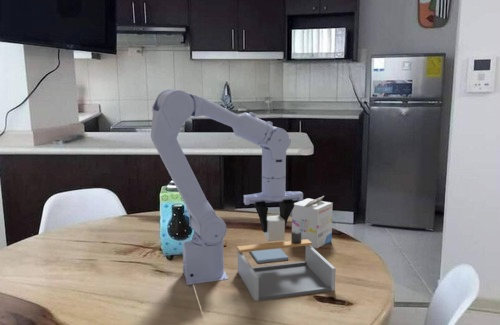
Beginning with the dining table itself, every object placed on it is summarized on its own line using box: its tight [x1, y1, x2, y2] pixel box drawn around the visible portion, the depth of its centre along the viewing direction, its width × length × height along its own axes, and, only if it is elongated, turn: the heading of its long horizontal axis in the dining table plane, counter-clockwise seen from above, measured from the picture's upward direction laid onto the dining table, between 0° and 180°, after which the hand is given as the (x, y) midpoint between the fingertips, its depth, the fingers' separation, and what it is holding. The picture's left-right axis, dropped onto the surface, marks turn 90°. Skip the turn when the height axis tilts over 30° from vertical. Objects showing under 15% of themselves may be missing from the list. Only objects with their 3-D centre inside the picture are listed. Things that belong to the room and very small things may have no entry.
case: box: [237, 245, 337, 302], centre depth 100 cm, size 18×15×6 cm
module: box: [263, 214, 286, 242], centre depth 109 cm, size 4×4×5 cm
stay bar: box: [236, 231, 312, 253], centre depth 106 cm, size 18×2×3 cm, turn 105°
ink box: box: [291, 195, 334, 249], centre depth 125 cm, size 9×8×13 cm
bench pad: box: [249, 248, 289, 264], centre depth 115 cm, size 8×8×1 cm
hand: (273, 230), depth 109 cm, fingers closed on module, 4 cm apart
